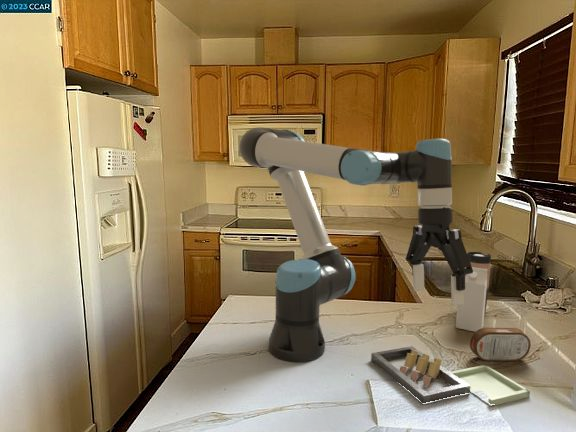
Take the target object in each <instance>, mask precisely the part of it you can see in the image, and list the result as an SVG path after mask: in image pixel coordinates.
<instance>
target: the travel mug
mask: <svg viewBox="0 0 576 432" xmlns="http://www.w3.org/2000/svg"><path fill="white" fill-rule="evenodd" d="M466 253H467V255H468V258H469V261H470V263H471V266H472V267H473V268H481V269H487V289H486V300H485V311H484V314H486V310H487V302H488V296H489V287H490V276H491V275H490V273H491V261H492V260H491V259H492V255H491V254H489V253H488V254H484V253H483V252H481V251H469V252H466Z"/></svg>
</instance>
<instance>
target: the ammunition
mask: <svg viewBox="0 0 576 432" xmlns="http://www.w3.org/2000/svg"><path fill="white" fill-rule="evenodd" d="M422 353H423V352H422ZM417 355H418V351H415V350H412V351H411V354H410V353H407V356H406V357H405V361H404V364H403V366H402V365H400V367H399V371H401V372H402V373H403V374H404V375H406V373H407V371H408V370H409V371H411V375H410V379H411V380H412V381H413V382H415V383H416V381H417V379H418V378H419V373H420V375H423V379H422V381H423V383H422V384H423V387H424V386H427V387H428V386H429V385H430V383H431V379H433V380H435V379H437V377H438V376H437V375H438V373H439V370H440V365H441V366H442V359H441V358H438V357H434V359H433V361H434V362H432V361H430V362H431V363H430V366H429V370H428V369H427V365H428V361H429V358H430V356H431V355H429V354H427V353H423V355H422V358H421V357H419V359H418V362H417V361H416V359H417ZM415 365H416V366H415ZM414 368H415V370H414ZM407 369H408V370H407ZM426 371H428V372H427V374H425V373H426Z"/></svg>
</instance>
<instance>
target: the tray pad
mask: <svg viewBox="0 0 576 432" xmlns="http://www.w3.org/2000/svg"><path fill="white" fill-rule="evenodd" d="M450 372H451V373H453V374H454V375H456V376H457V377H458V378H460V379H461V380H463V381H464V382H466V383H467V384H469V385H470V390H471V391H474V392H475V390H476V391H478V390H482V391H484V393H486V394H487V395H488V396H489V397H490V398H489V399H488V402H489V403H490V404H495V406H499V405H502V404H507V403H511V402H514V401H518V400H523V399H527V398H530V395H531V390H530V389H528V388H526V387H524V386H522V385H521V384H519V383H517V382H516V381H514V380H512V379H511V378H509V377H507V376H505V375H504V374H501V373H500V372H499V371H497V370H495V369H493V368H491V367H490V366H488V365H487V364H482V365H477V366H473V367H468V368H463V369H458V370H453V371H450Z"/></svg>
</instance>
